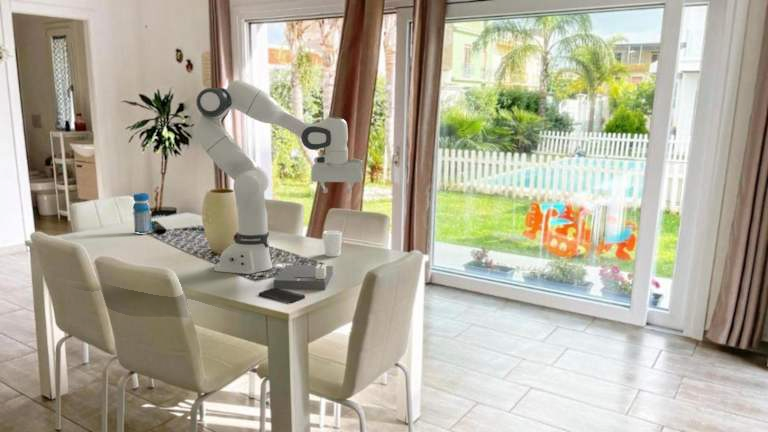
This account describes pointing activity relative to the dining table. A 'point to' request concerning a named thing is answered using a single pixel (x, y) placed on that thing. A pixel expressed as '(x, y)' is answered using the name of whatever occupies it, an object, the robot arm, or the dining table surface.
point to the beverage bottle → (142, 213)
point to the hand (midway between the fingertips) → (337, 193)
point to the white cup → (332, 243)
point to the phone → (281, 295)
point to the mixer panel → (301, 278)
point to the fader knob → (321, 271)
